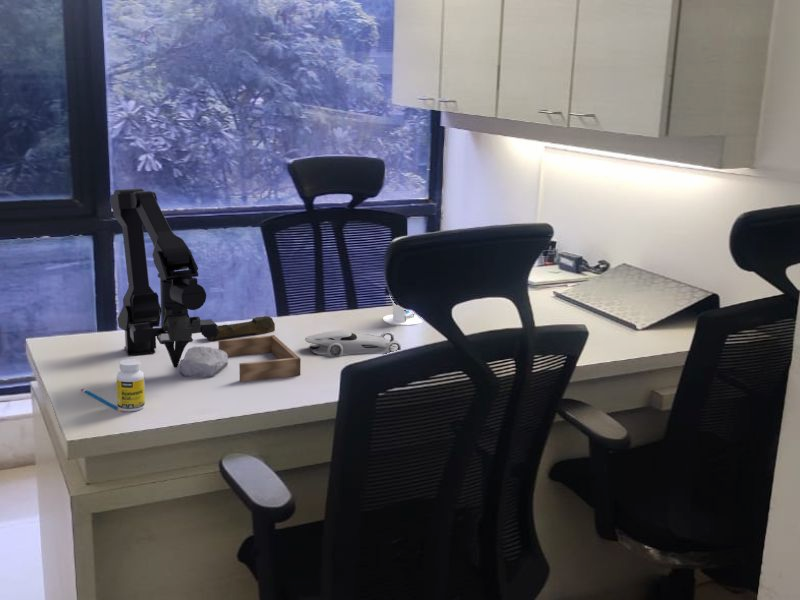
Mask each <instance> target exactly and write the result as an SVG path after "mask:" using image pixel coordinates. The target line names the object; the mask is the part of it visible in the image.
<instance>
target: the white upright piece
mask: <svg viewBox="0 0 800 600" xmlns="http://www.w3.org/2000/svg"><path fill="white" fill-rule="evenodd" d="M389 297H390V301H391V302H392V314H388V315H385V316H384V317H382V318H383V319H382V320H383V322H385V323H386V324H389V325H392V326H393V325H394V326H406V327H407V326H409V327H410V326H416V325H420V324H422V323H423V322H424V320H423V321H422V320H421V319H419V318H418V317H417V316H418V315H415V313H414V314H413V313H411V312H409V311H406V310H403V309H401V308H400V307H398V306H397V305H396V304H395V303H394V301H393V300H392V298H391V296H390V295H389Z"/></svg>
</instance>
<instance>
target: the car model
mask: <svg viewBox="0 0 800 600" xmlns="http://www.w3.org/2000/svg"><path fill="white" fill-rule="evenodd" d="M386 335H387V336H390V339H389V338H386V337H385V336H386ZM304 341H305V342H306V343H309V344H310V348H312V349H311V352H313V353H314V354H315V355H318V356H323V357H324V356H325V357H326V356H327V357H342V356H343V357H344V356H350V355H364V354H366V355H368V354H369V355H370V354H374V355H375V354H385V355H386V353H390V352H394V351H397V350H401V351H402V344H401V343H400V342H399V341H398V340H395V335H394V333H393V331H391V330H385V331H383V332H382V333H381V334H380V335H374V334H365V333H353V332H351V331H349V330H347V329H337V330H329V331H323V332H319V333H315V334H311V335H308V336H307V337H304Z"/></svg>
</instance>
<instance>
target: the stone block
mask: <svg viewBox="0 0 800 600" xmlns="http://www.w3.org/2000/svg"><path fill="white" fill-rule="evenodd" d="M228 357H229V356H227V353H226V352H224V351H222V350H220V349H219V348H214V347H210V346H209V347H208V346H201V345H200V346H192V347H189V348H188V349H187V351H186V352H185V355H184V357H183V359H180V361H179V373H180V375H182V377H190V378H192V377H193V378H194V377H204V378H210V377H211V378H212V377H213V376H215V375H217V374H218V373H219V372H221V371H223V370H224V369H225V368H227V367H228V362H229V358H228Z"/></svg>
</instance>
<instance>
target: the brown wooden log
mask: <svg viewBox="0 0 800 600" xmlns="http://www.w3.org/2000/svg"><path fill="white" fill-rule="evenodd" d="M275 328H276V323H275V322H274V319H273V318H272V317H271V316H266V315H265V316H260V317H259V316H257V317H254V318H252V320H250V321H245V322H237V323H230V324H222V325H218V329H219V336H217V337H206V340H208V341H209V342H213V341H218V340H220V339H225V338H231V337H238V336H245V335H252V334H253V335H255V336H261V335H265V334H269V333H272V332H274V331H275V330H276V329H275Z"/></svg>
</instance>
